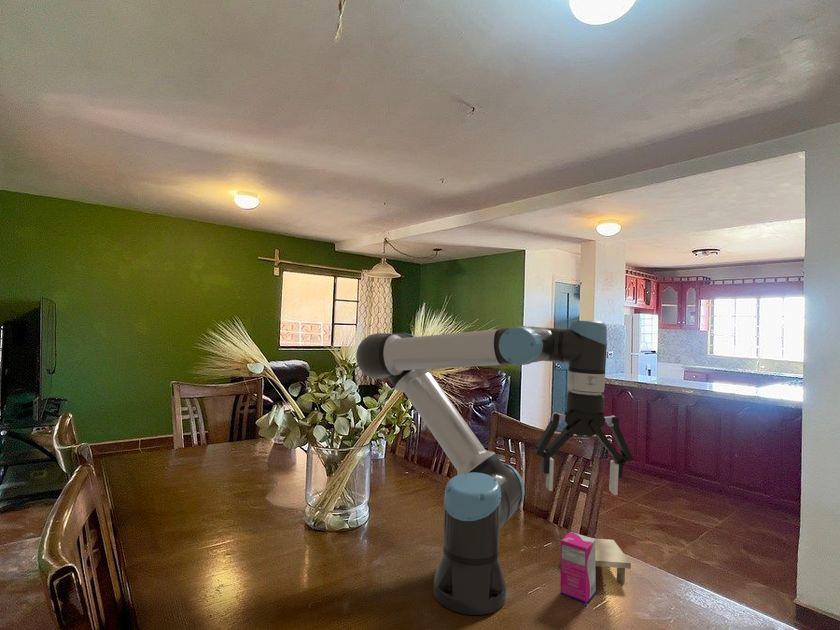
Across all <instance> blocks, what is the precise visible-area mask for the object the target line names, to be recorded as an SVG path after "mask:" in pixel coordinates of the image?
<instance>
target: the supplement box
mask: <svg viewBox="0 0 840 630" xmlns="http://www.w3.org/2000/svg"><path fill="white" fill-rule="evenodd" d="M595 539H596V538H593V537H589V536H586V535H583V534H580V533H576V532H573V531H569V532H568V533H567V534H566V535H565V536H564V537H563V538H562V539H560V595H562V596H565V597H567V598H570V599H571V600H573V601H574V600H575V601H576V602H579V603H582V604H584V605H588V604H589V603H590V602H591V600H592V598H593V597H594V596H595V595H596V589H597V588H596V586H597V585H596V567H597V566H595V561H596V559H595Z"/></svg>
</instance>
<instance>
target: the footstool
mask: <svg viewBox="0 0 840 630" xmlns="http://www.w3.org/2000/svg"><path fill="white" fill-rule="evenodd" d="M594 539H595V559H596V561H595V567H604V568H616V582H617V583H618V584H621V585H623V584H626V583H625V582H626V581H625V580H626V569H627V570H628V569H629V570H630V569H631V568H632V567H631V566H632V564H631V562H630V560H629V558H628V556H626V555H625V553H624V552H623V551H622V548H620V546H619V545H618V544H617V542H616V541H615V540H614V539H609V538H608V539H607V538H594Z"/></svg>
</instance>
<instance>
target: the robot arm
mask: <svg viewBox="0 0 840 630" xmlns="http://www.w3.org/2000/svg"><path fill="white" fill-rule="evenodd" d="M607 331H608V330H607V324H606V323H605V322H603V321H597V320H576V319H575V320H572V321H571V322H570V326H569V327H568V328H555V327H554V328H553V327H543V326H542V327H541V326H530V325H529V326H526V325H517V326H513V327H507V328H506V327H505V328H496V329H494V328H493V329H485V330H474V331H473V330H472V331H465V332H453V333H452V332H451V333H442V334H434V335H433V334H432V335H423V336H422V335H420V336H416V335H414V334H410V333H407V332H397V333H385V332H384V333H380V332H379V333H373V334H370V335H367V336H366V337H365V338H364V339H362V340H361V342H360V343H359V345H357V349H356V355H355V359H356V363H357V366H358V368H359V370H360V371H361V372H362V373H363V374H364V375H365V376H367V377H368V378H371V379H375V380H376V379H377V380H385V379H388V381H389V382H390V384H391V385H392V387H393V388H394V390H395V391H398V392H401V393H402V392H403V393H404V394H405V395H406V397H407V398H408V400H409V401H410V403H411V404H412V406H413V408H415V411H416V413H418V414H419V416H420V418H421V419H422V421H423V422H424V424H425V425H426V427H427V428H428V429H429V431H430V432H431V434H432V435H433V437H434V438H435V440H436V441H437V442H438V443H437V444H439V446H440V447H441V449H442V450H443V452H444V453H445V455H446V456H447V457H448V460H450V462H451V464H452V465H453V467H454V468H455V469H456V472H457V474H456V475H455V476H453V477H451V478H450V479H449V480H448V481H447V483H446V486H445V490H444V496H443V535H442V537H443V538H442V539H443V540H442V541H443V545H442V548H443V549H442V555H441V558H440V560H439V564H438V566H437V569H436V572H435V574H434V576H433V577H434V578H433V594H434V597H435V600H437V601H438V602H439V603H440V605H442V606H444V607H445V608H447V610H451V611H453V612H456V613H457V614H458V613H459V614H462V615H467V616H468V615H470V616H483V615H488V614H493V613H494V612H497V611H498V610H500V609H501V608H502V607H503V606H504V605H505V603H506V600H507V584H506V581H505V577H504V574H503V570H502V566H501V563H500V559H499V550H500V549H499V546H500V530H501V528H502V527H503V525H505V524H506V522H507V521H508V520H510V518H511V517H512V516H514V515H516V513H517V512H518V511H519V509H520V507H521V505H522V503H523V502H524V499H525V494H526V493H525V484H524V480H523V478H522V475H521V474H520V473H519V472H518V470H517V469H516V468H514V467H513V466H511V465H510V464H507V463H504V462H502V460H501V459H500V458H499V456H498V455H497V453H496V452H495V451H491V450H487V449H485V447H484V445H483V444H482V443H481V442H480V440H479V439H478V437H477V436H476V435H475V433H474V432H473V431H472V429H471V428H470V427H469V426H470V425H468V423H467V422H466V420H465V419H464V418H463V417H462V415H461V414H460V413H459V411H458V409H457V407H455V405H454V404H453V403H452V401H451V400H450V399H449V397H448V396H447V394H446V393H445V391H444V390H443V388H442V387H441V386H440V384H439V383H438V381H437V380H436V378H434V376H433V375H432V373H431V371H432V369H433V370H434V369H448V368H449V369H450V368H465V367H466V368H467V367H469V368H470V367H486V366H487V367H488V366H502V365H504V366H505V365H506V366H508V365H516V366H524V365H525V366H526V365H530V364H533V363H538V362H554V363H555V362H558V363H568V370H567V371H568V372H567V373H568V374H567V389H568V390H569V391H568V392H566V412H565V413H559V412H558V413H557V412H556V411H552V412H551V414H550V420H549V422H548V424H547V425H546V427H545V429H544V431H543V433H542V434H541V436H540V439H539V441H538V442H537V444H536V445H535V447H534V450H533V451H534V452H535V454H536V456H539V457H542V464H541V470H542V472H543V473H544V474H545V475H546V477H545V478H546V480H545V487H546V489H547V490H548V491H549V492H553V489H554V488H553V487H554V466H555V459H554V458H552V457H553V456H554V454H556V453H557V451H559V449H561V447H562V446H563V445H564V444H565V443H566V442H567V441H568V440H569V439H570V438H571V437H573V436H575V435H576V436H577V437H585V436H587V437H591V438H592V437H594V436H596V437H597V439H598V440H599V441H600V442H601V444H602V445H603V447H604V448H605V449H606V450H607V452H608V453H609V454H610V455H611V457H612V458H613V459H614V460H610V461H609V463H610V464H609V465H610V466H609V480H608V481H609V486H608V487H609V488H608V490H609V492H610V493H611V494H612V495H614V496H618V494H619V493H618V489H619V488H618V487H619V479H623V476H624V475H623V472H624V466H625V465H626V463H627V462H632V461H633V460H634V457H633V455H632V453H631V451H630V449H629V447H628V443H627V441H626V440H625V438H624V435H623V433H622V431H621V427H620V421H619V420H620V419H619V418H618V417H617V416H615V415H614V414H610V415H609V416H604V412H605V411H604V410H605V407H604V406H605V396H604V394H602V393H604V392H605V385H606V365H607V364H606V362H607V347H608V341H607V336H608V335H607V333H608V332H607ZM563 421H564V422H565V423H566V426H565V427H563V429H562V430H561V432H560V433H559V434H558V435H557V436H556V437H555V438H554V439H553V440H552V441H551V439H552V437H553V436H554V434H555V432H556V430H557V428H558V426H559V425H560V424H561V423H562V422H563ZM605 423H606V426H608V427H609V429H610V431H611V434H612V436H613V438H614V439H615V441H616V444H617V446H618V449H619V451H620V453H621V454H620V453H619V452H618V450H617V449H616V448H615V447H614V445H613V444H612V442H611V441H610V440H609V439H608V438H607V436H606V434H605V433H604V432H603V430H602V427H604V425H605ZM550 441H551V443H549V442H550Z"/></svg>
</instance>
